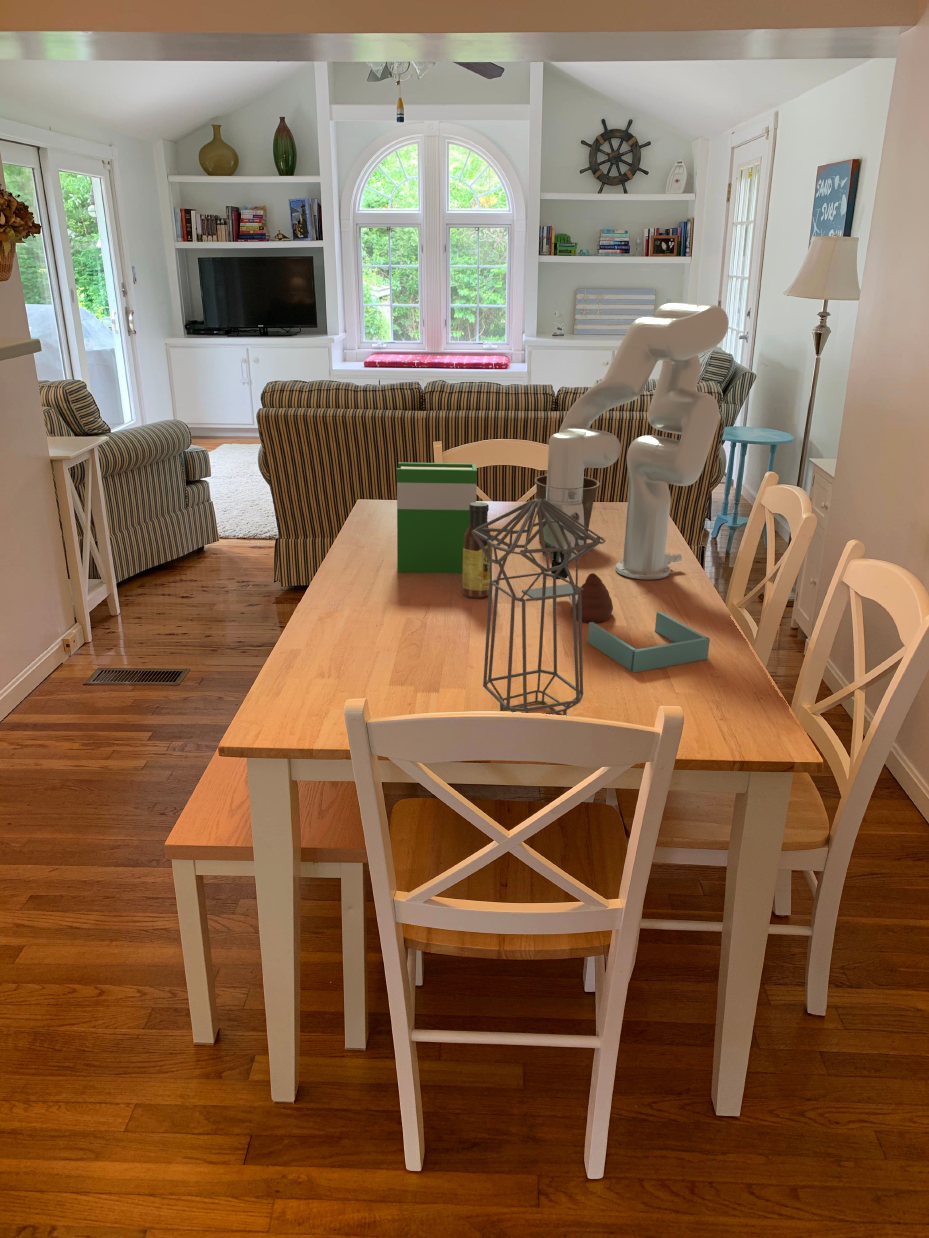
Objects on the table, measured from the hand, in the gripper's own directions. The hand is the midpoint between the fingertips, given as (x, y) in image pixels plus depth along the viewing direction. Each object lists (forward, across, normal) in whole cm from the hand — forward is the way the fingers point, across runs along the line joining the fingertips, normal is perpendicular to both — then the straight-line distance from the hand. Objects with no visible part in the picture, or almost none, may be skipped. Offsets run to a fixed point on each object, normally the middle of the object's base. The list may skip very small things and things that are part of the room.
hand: (559, 577), depth 200 cm
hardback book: (+4, +27, +17) cm, 33 cm away
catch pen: (+4, -33, 0) cm, 33 cm away
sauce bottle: (+4, +7, +16) cm, 18 cm away
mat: (+4, +2, 0) cm, 5 cm away
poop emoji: (+4, -13, 0) cm, 14 cm away
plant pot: (+4, +35, -22) cm, 42 cm away
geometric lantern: (+4, -48, +33) cm, 58 cm away
